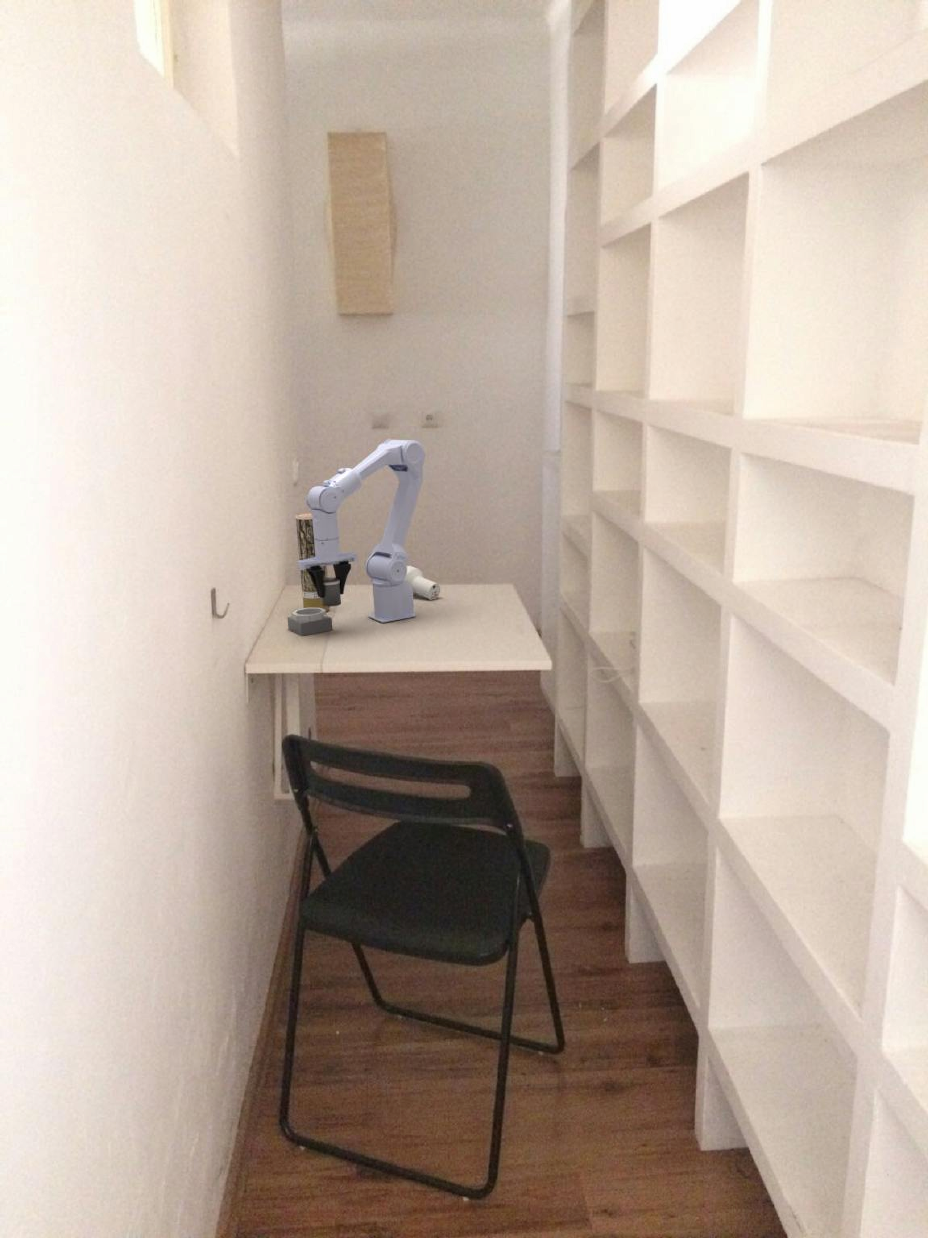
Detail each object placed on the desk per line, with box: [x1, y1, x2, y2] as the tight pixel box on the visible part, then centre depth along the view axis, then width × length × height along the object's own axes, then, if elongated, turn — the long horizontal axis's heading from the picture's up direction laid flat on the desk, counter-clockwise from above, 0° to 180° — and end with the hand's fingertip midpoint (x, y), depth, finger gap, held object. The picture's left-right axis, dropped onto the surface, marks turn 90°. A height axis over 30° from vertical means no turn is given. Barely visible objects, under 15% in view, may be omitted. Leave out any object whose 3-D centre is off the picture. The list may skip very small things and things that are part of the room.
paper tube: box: [295, 512, 331, 612], centre depth 248 cm, size 7×7×25 cm
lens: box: [322, 576, 342, 607], centre depth 228 cm, size 4×4×6 cm
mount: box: [286, 607, 334, 637], centre depth 233 cm, size 8×8×4 cm
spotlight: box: [404, 565, 441, 601], centre depth 261 cm, size 8×11×8 cm
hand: (330, 595), depth 228 cm, fingers closed on lens, 4 cm apart
